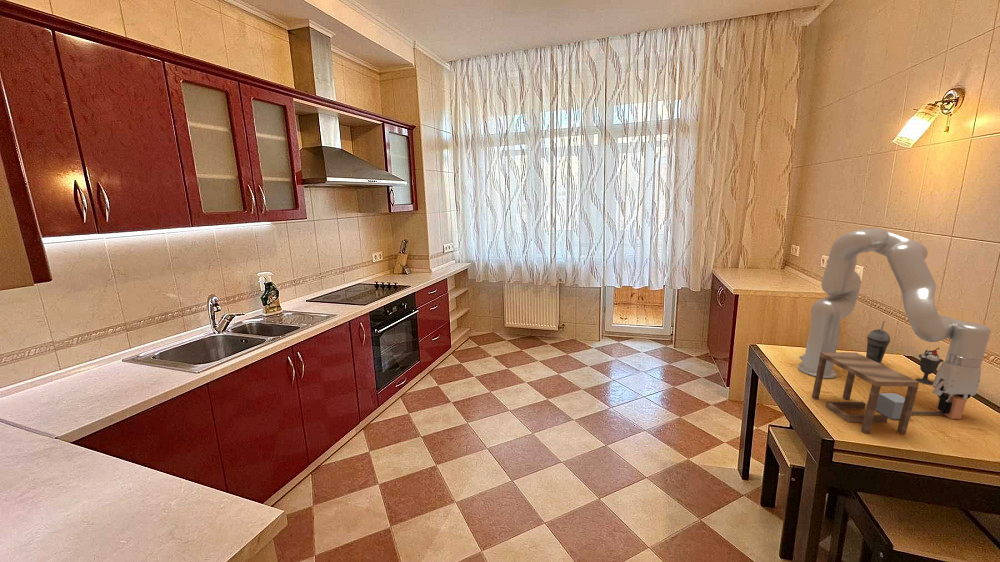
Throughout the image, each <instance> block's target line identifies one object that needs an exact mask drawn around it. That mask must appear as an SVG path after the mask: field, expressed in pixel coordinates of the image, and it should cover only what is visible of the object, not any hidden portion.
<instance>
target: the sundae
mask: <svg viewBox="0 0 1000 562" xmlns="http://www.w3.org/2000/svg"><path fill="white" fill-rule="evenodd" d="M937 350H940V347H937V348H936V349H933V350H928V349H926V350H924V353H923V354H922V353H921V354H918V357H919V358H920V360H919V361H920V363H919V365H920V366H919V367H920V370H921V372H923V377H921V378H915V380H916V381H918V382H919V384H923V385H932V386H933V382H934V381H931V380H929V375H932V374H933V373H936V372H937V370H938V368H939V366H940V365H941V364H942V362H943V361H944V359H942V358H940V355H939V353H938V351H937Z"/></svg>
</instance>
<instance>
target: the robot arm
mask: <svg viewBox="0 0 1000 562" xmlns="http://www.w3.org/2000/svg"><path fill="white" fill-rule="evenodd" d="M868 252H875V253H876V254H879V255H882V256H884V257H886V260H887V263H888V264H889V266H890V269H891V271H892V274H893V275H894V277H895V280H896V281H897V284H898V287H899V288H900V292H901V298H902V303H903V304H902V305H903V308H904V313H905V316H906V318H907V320H908V322H909V324H910V327H911V329H912V330H913V332H914V333H915V335H916V336H917V337H918V338H919V339H920V340H923V341H925V342H929V343H937V342H938V343H939V342H940V341H943V340H946V339H949V340H950V342H949V346H948V350H947V353H946V356H945V361H944V360H943V362H941V363H940V364H939V366H938V368H937V370H936V374H935V376H934V379H933V381H932V382H933V385H932V387H933V390H932V393H933V394H935V395H936V396H937V397H938V400H939V399H940V401H939V404H938V403H937V404H938V410H940V411H942V412H944V413H946V414H949V413H950V409H951V406H952V403H951V400H952V397H953V395H954V394H956V395H958V396H960V397H962V398H964V399H966V403H967V401H968V399H970V398H971V397H973V396H975V395H977V392H978V389H979V387H980V386H979V385H980V381H981V373H982V367H981V366H982V364H983V360H984V356H985V353H986V349H987V347H988V344H989V340H990V336H991V332H992V331H991V328H990V327H989V326H987V325H984V324H981V323H977V322H970V321H963V320H959V319H956V318H952V317H949V316H946V315H940V314H939V312H938V310H937V307H936V302H935V293H936V289H937V286H936V284H937V283H936V280H934V277H933V276H932V273H931V271H930V269H929V267H928V264H927V263H926V259H927V258H928V255H929V254H928V248H927V247H926V245H924V244H923V243H921V242H919V241H916V240H914V239H910V238H909V237H908V238H907V237H905V236H902V235H900V234H897V233H894V232H891V231H889V230H885V229H883V228H874V227H873V228H862V229H857V230H853V231H849V232H846V233H844V234H842V235H841V236H839V237H837V238H836V239H835V241H834V242H833V243H832V245H831V248H830V250H829V254H828V259H827V262H826V265H825V269H824V272H823V275H822V279H821V283H820V286H821V289H822V291H823V292H824V293H825V294H827V296H826V297H822V298H820V299H818V300H816V301H815V302H814V303H813V305H811V309H810V323H809V330H808V331H809V332H808V337H807V342H806V346H805V352H804V354H802V355H799V357H798V359H800V360H801V363H798V364H797V369H798V370H799V371H800V372H802V373H803V374H806V375H808V374H809V375H808V376H811V375H812V376H811V377H815V376H816V373H817V368H818V363H819V358H820V352H837V349H838V346H839V345H838V344H839V340H840V335H841V334H840V333H841V321H842V319H843V318H846V317H849V315H851V314H852V313H853V312H854V309H855V306H856V304H857V300H858V297H859V292H860V289H861V285H862V280H861V277H860V275H859V274H858V272H856V271H855V269H856V267H857V266H856V265H857V259H858V255H859V254H862V253H868ZM834 365H835V364H833V363H831V362H830V361H828V360H826V365H825V370H824V375H823V379H834V377H835V378H836V377H837V375H838V374H837V371H835V370H834V369H833V368H834ZM945 394H948V395H947V396H946V395H945Z"/></svg>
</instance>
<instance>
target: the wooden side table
mask: <svg viewBox="0 0 1000 562" xmlns="http://www.w3.org/2000/svg"><path fill="white" fill-rule="evenodd" d="M826 360H828V361H830V362H831V363H833V364H834V365H835V366H837V367H839V368H841V369H843V370H844V371H846V372H847V376H846V381H845V384H844V388H843V393H842V399H844V400H846V401H826V402H825V405H824V406H825V408H827V410H829V411H831V412H832V413H833V414H834V415H836V416H838V417H839V418H841V419H842V420H844V421H846V422H847V423H862V425H861V429H860V431H861V433H863V434H864V435H865V434H866V435H870V434H871V430H872V425H873V423H888V420H889V417H887V416H886V415H884V414H875V413H876V410H875V409H876V404H877V400H878V396H879V393H880V391H881V387H899V388H900V387H907V388H906V393H905V394H906V395H905V397H904V398H905V401H904V405H903V409H902V413H901V416H900V419H898V420H899V421H898V426H897V429H896V432H897V433H898V432H899V433H898V434H900V435H906V434H907V431H908V426H909V422H910V420H911V417H910V415H911V416H912V414H911V412H912V411H913V409H914V405H915V400H916V396H917V392H918V388H919V384H920V382H918V381H916V379H913V378H911V377H909V376H907V375H906V374H903V373H901V372H898V371H897V370H895V369H892V368H891V367H888V366H886V365H884V364H882V363H881V364H880V363H878V362H875V361H873V360H871V359H869V358H867V357H866V355H862V354H860V353H858V352H849V351H847V352H843V351H842V352H840V351H839V352H838V351H836V352H820V358H819V363H818V368H817V373H816V377H815V379H814V384H813V390H812V395H811V398H812V399H813V400H819V398H820V394H821V389H822V384H823V380H824V378H823V375H824V370H825V365H826ZM855 377H858V378H859V379H862V380H863V381H865V382H867V383H869V384H871V385H870V391H869V395H868V400H867V403H865V402H864V401H850V399H851V396H852V391H853V387H854V381H855ZM848 400H849V401H848ZM913 404H914V405H913ZM912 408H913V409H912ZM845 409H848V410H853V409H854V410H865V413H864V414H848V413H847V412H845V411H843V410H845Z"/></svg>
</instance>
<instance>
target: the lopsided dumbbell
mask: <svg viewBox="0 0 1000 562" xmlns="http://www.w3.org/2000/svg"><path fill="white" fill-rule="evenodd" d="M945 395H946V396H947V395H948V394H945ZM904 401H905V397H904V396H902V395H901V394H898V393H897V392H896V393H893V392H891V393H890V392H889V393H888V392H886V393H884V392H881V393H880V392H879V396H878V400H877V404H876V409H875V411H877V412H878V413H880V414H881V415H886V416H887V417H888V419H891V420H900V416H901V413H902V409H903V405H904ZM939 401H940V399H939V398H938V401H937V405H936V408H935V411H916V410H915V411H913V409H914V407H913V408H912V412H911V415H910V418H911V417H912V415H943V416H945V417H947V418H949V419H951V420H961V419H962V416H963V414H964V413H963V412H964V411H965V406H966V404H967V402H966V399H964V398H962V397H960V396H958V395H956V394H954V395H953V397H952V400H951V403H952V406H951V409H950V413H949V414H946V413H944V412H942V411H940V410H938V404H939ZM913 406H915V403H914V404H913Z"/></svg>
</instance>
